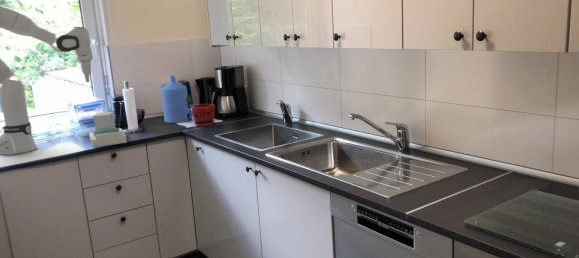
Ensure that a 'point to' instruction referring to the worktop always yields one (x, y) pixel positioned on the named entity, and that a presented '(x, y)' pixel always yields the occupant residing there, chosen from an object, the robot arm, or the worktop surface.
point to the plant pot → (203, 114)
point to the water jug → (174, 102)
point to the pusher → (107, 131)
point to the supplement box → (104, 121)
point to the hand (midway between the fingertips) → (87, 81)
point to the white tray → (108, 138)
